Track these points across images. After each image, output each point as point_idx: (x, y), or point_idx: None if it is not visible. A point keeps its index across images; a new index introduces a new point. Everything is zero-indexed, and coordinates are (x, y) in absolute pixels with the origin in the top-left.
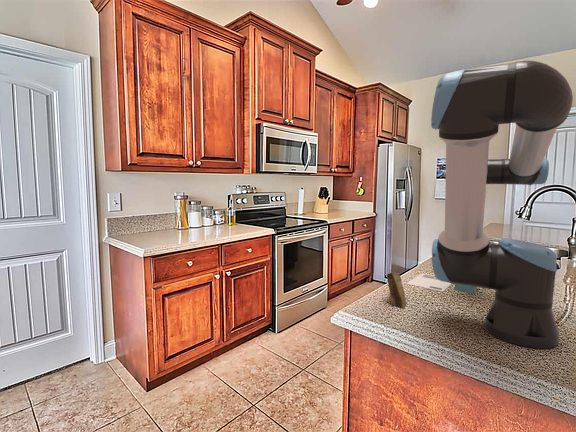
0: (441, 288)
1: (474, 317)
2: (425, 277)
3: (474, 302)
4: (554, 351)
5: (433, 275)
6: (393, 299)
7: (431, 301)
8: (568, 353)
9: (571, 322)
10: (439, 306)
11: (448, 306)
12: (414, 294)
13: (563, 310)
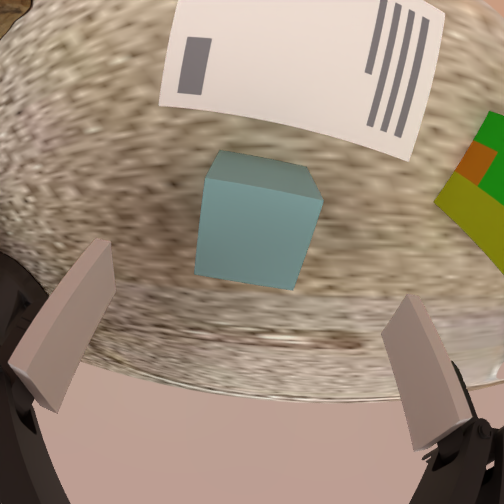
0: (199, 91)
1: (12, 231)
2: (377, 13)
3: (107, 229)
4: None
5: (432, 60)
6: None
7: (29, 104)
8: None
9: (138, 378)
10: (11, 140)
11: (24, 162)
12: (62, 26)
13: (206, 386)
